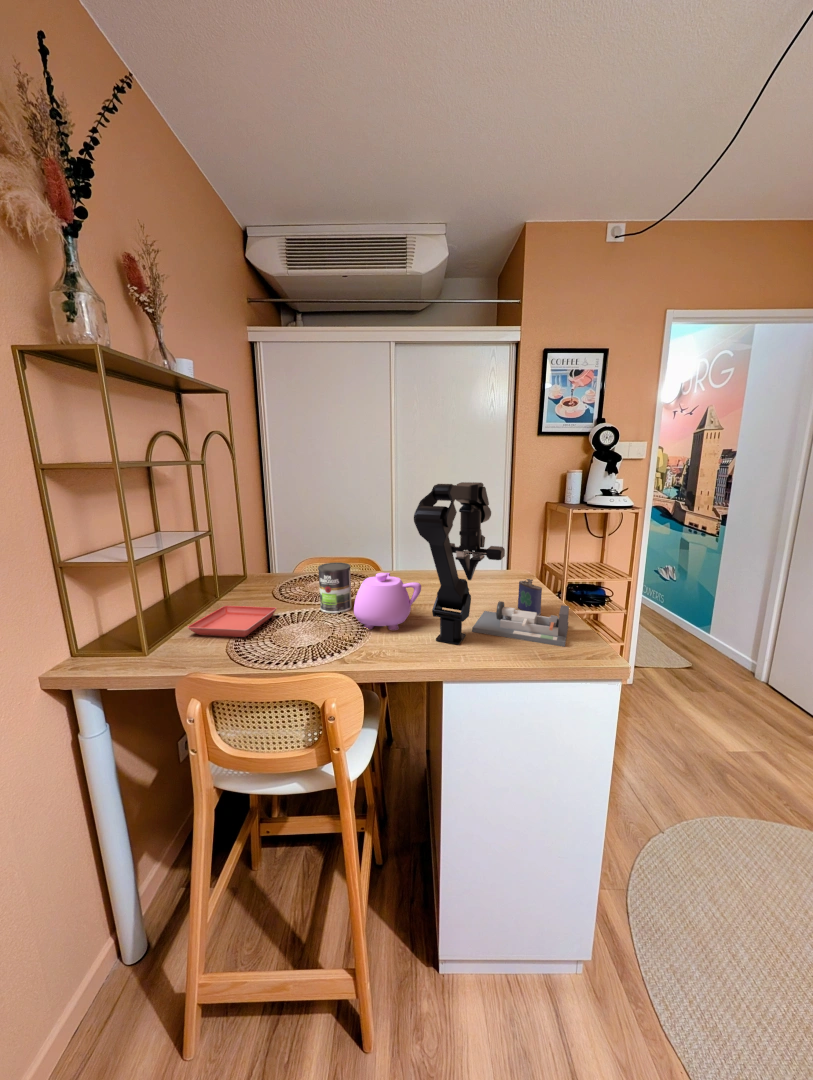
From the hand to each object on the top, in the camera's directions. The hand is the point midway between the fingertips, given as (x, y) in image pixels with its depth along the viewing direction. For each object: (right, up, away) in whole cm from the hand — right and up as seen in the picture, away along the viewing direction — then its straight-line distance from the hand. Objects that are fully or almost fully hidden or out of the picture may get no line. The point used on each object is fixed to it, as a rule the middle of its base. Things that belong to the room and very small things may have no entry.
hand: (469, 579), depth 117 cm
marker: (+20, -13, -10) cm, 26 cm away
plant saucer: (-69, -14, +1) cm, 70 cm away
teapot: (-24, -13, +3) cm, 27 cm away
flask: (+20, -11, +9) cm, 24 cm away
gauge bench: (+14, -13, -4) cm, 20 cm away
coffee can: (-41, -11, +15) cm, 45 cm away
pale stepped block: (+12, -12, -6) cm, 18 cm away
